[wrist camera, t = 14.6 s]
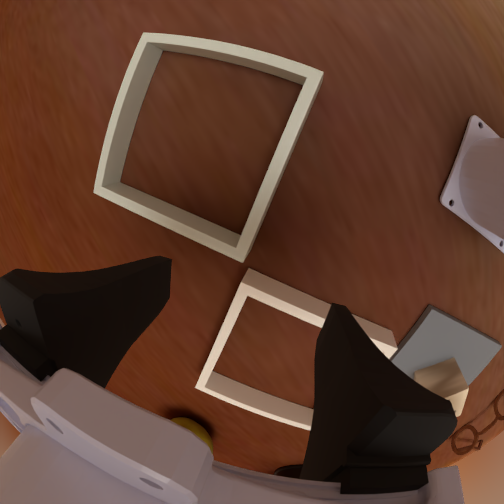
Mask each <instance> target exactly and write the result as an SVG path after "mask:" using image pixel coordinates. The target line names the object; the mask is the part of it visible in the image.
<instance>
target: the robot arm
mask: <svg viewBox="0 0 504 504" xmlns="http://www.w3.org/2000/svg"><path fill="white" fill-rule="evenodd" d="M478 123H479V124H480V128H479V126H478ZM450 200H452V204H451V205H449V201H450ZM440 202H441V204H442V205H443V206H445V207H446V208H448V209H449V210H450V211H452V212H453V213H455V214H456V215H457V216H459V217H460V218H461V219H463V220H464V221H465V222H467V223H468V224H469V225H470V226H472V227H473V228H474V229H476V230H477V231H478V232H479V233H480V234H482V235H483V236H484V237H485V238H487V239H488V240H489V241H490V242H491V243H492V244H494V245H495V246H496V247H497V248H498V249H499V250H500V251H501V252H503V253H504V138H500V137H499V136H498V135H497V134H496V133H495V132H494V131H493V130H492V129H491V128H490V127H489V126H488V125H487V124H485V123H484V122H483V121H482V120H481V119H480V118H479V117H478V116H476V115H473V116H471V117H470V119H469V122H468V125H467V128H466V132H465V135H464V138H463V141H462V143H461V146H460V149H459V152H458V155H457V157H456V160H455V162H454V165H453V168H452V170H451V173H450V175H449V177H448V180H447V182H446V184H445V187H444V189H443V191H442V194H441V196H440ZM500 242H501V244H500ZM171 263H172V259H169V258H166V257H162V256H155V257H150V258H146V259H142V260H138V261H134V262H130V263H126V264H122V265H118V266H113V267H109V268H104V269H99V270H92V271H85V272H69V273H49V272H36V271H29V270H22V269H15V270H12V271H11V272H9V273H7V274H5V275H4V276H2V277H0V305H1V308H2V311H3V314H4V317H5V320H6V323H7V325H6V326H4V327H3V328H2V326H1V324H0V411H1V412H2V413H3V414H4V416H5V417H6V418H7V419H8V420H9V421H10V422H11V423H12V425H13V426H14V427H15V428H16V429H17V430H18V431H19V432H20V433H21V434H20V435H19V436H18V437H17V438H16V440H15V441H14V442H13V443H12V444H11V446H10V447H9V448H8V449H7V450H6V452H5V453H4V454H3V455H2V457H1V458H0V504H464V498H463V492H462V486H461V480H460V475H459V470H458V466H451V467H445V468H438V469H434V470H432V471H429V472H427V467H426V465H428V464H430V462H431V458H430V453H431V452H433V451H434V450H435V449H436V448H437V447H439V446H440V445H441V444H442V443H443V442H444V441H445V440H446V439H447V438H448V437H449V436H450V435H451V434H452V432H453V431H454V429H455V427H456V425H457V418H456V415H455V412H454V409H453V406H452V403H451V401H449V400H447V399H445V398H443V397H441V396H439V395H437V394H435V393H433V392H431V391H430V390H428V389H427V388H425V387H423V386H422V385H420V384H419V383H417V382H416V381H414V380H413V379H412V378H410V377H409V376H408V375H407V374H405V373H404V372H403V371H402V370H400V369H399V368H398V367H397V366H396V365H395V364H393V363H392V362H391V361H390V360H389V359H388V358H387V357H386V356H385V355H384V354H383V353H382V352H381V351H380V350H379V348H378V347H377V346H376V345H375V344H374V343H373V341H372V340H371V339H370V338H369V336H368V335H367V334H366V333H365V331H364V330H363V329H362V327H361V326H360V325H359V323H358V322H357V321H356V319H355V318H354V316H353V315H352V314H351V312H350V311H349V310H348V309H347V307H346V306H343V305H339V304H335V303H332V304H331V307H330V309H329V312H328V314H327V317H326V319H325V322H324V324H323V327H322V329H321V331H320V334H319V336H318V339H317V344H316V351H315V398H314V411H313V418H312V424H311V430H310V436H309V441H308V446H307V450H306V454H305V459H304V463H303V467H302V470H301V474H300V477H299V479H295V478H288V477H282V476H276V475H271V474H265V473H261V472H256V471H251V470H247V469H243V468H239V467H235V466H231V465H228V464H224V463H221V462H217V461H214V460H213V459H214V457H213V455H212V453H211V450H210V448H209V446H208V445H207V443H205V442H204V441H203V440H202V439H200V438H199V437H198V436H197V435H195V434H194V433H193V432H192V431H190V430H188V429H186V428H184V427H182V426H180V425H178V424H176V423H174V422H172V421H170V420H168V419H166V418H164V417H161V416H159V415H157V414H154V413H152V412H150V411H148V410H145V409H143V408H141V407H139V406H137V405H135V404H133V403H131V402H129V401H127V400H125V399H123V398H121V397H119V396H117V395H115V394H113V393H112V392H110V391H108V390H106V389H105V387H106V385H107V383H108V381H109V379H110V378H111V376H112V374H113V373H114V371H115V369H116V368H117V366H118V364H119V363H120V361H121V360H122V358H123V357H124V355H125V354H126V352H127V351H128V349H129V348H130V347H131V345H132V344H133V343H134V342H135V341H136V340H137V338H138V337H139V336H140V335H141V334H142V333H143V332H144V331H145V329H146V328H147V327H148V326H149V325H150V324H151V323H152V321H153V320H154V319H155V318H156V317H157V316H158V315H159V313H160V312H161V310H162V309H163V307H164V306H165V304H166V303H167V301H168V299H169V298H170V280H171Z"/></svg>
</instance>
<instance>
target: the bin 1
mask: <svg viewBox="0 0 504 504" xmlns="http://www.w3.org/2000/svg"><path fill="white" fill-rule="evenodd" d="M163 51H171V52H178V53H185V54H191V55H196V56H202V57H207V58H211V59H216V60H221V61H225V62H229V63H233V64H237V65H241V66H245V67H248V68H252V69H255V70H259V71H262V72H265V73H269V74H272V75H275V76H278V77H281V78H284V79H287V80H290V81H292V82H295V83H298V84H301V85H303V88H302V90H301V92H300V95H299V97H298V99H297V102H296V104H295V106H294V109H293V111H292V113H291V116H290V118H289V120H288V123H287V125H286V127H285V130H284V132H283V135H282V137H281V139H280V142H279V144H278V146H277V149H276V151H275V154H274V156H273V158H272V161H271V163H270V166H269V168H268V171H267V173H266V175H265V178H264V180H263V183H262V185H261V188H260V190H259V192H258V195H257V197H256V200H255V202H254V205H253V207H252V210H251V212H250V215H249V217H248V219H247V222H246V224H245V227H244V229H243V232H242V234H241V235H239V234H237V233H234V232H232V231H230V230H228V229H225V228H223V227H221V226H219V225H216V224H214V223H212V222H210V221H207V220H205V219H203V218H201V217H198V216H196V215H194V214H192V213H189V212H187V211H185V210H183V209H180V208H178V207H176V206H174V205H171V204H169V203H167V202H164V201H162V200H160V199H158V198H155V197H153V196H151V195H148V194H146V193H144V192H141V191H139V190H137V189H135V188H132V187H130V186H128V185H125V184H123V183H121V182H120V180H121V175H122V171H123V167H124V163H125V159H126V155H127V151H128V148H129V144H130V140H131V137H132V134H133V130H134V127H135V124H136V120H137V117H138V114H139V111H140V108H141V105H142V102H143V100H144V97H145V94H146V91H147V89H148V86H149V83H150V81H151V78H152V76H153V73H154V71H155V68H156V66H157V64H158V61H159V59H160V57H161V54H162V52H163ZM323 75H324V72H323V71H320V70H317V69H315V68H312V67H310V66H307V65H304V64H301V63H298V62H295V61H292V60H289V59H286V58H283V57H280V56H277V55H273V54H270V53H267V52H263V51H259V50H255V49H252V48H248V47H243V46H239V45H235V44H230V43H225V42H220V41H215V40H209V39H203V38H196V37H189V36H181V35H171V34H159V33H143V35H142V37H141V39H140V41H139V43H138V45H137V48H136V50H135V52H134V54H133V57H132V59H131V62H130V64H129V67H128V69H127V72H126V74H125V77H124V80H123V82H122V85H121V88H120V91H119V94H118V96H117V99H116V102H115V106H114V109H113V112H112V115H111V119H110V122H109V126H108V129H107V133H106V137H105V140H104V144H103V149H102V153H101V157H100V162H99V166H98V171H97V176H96V181H95V187H94V193H95V194H97V195H99V196H101V197H103V198H105V199H107V200H110V201H112V202H114V203H116V204H118V205H120V206H122V207H124V208H126V209H128V210H130V211H132V212H135V213H137V214H139V215H141V216H143V217H145V218H147V219H149V220H151V221H153V222H156V223H158V224H160V225H162V226H164V227H166V228H168V229H170V230H173V231H175V232H177V233H179V234H181V235H183V236H185V237H187V238H190V239H192V240H194V241H196V242H198V243H200V244H202V245H205V246H207V247H209V248H211V249H213V250H215V251H218V252H220V253H222V254H224V255H226V256H228V257H231V258H233V259H235V260H237V261H239V262H242V263H243V262H244V260H245V259H246V257H247V255H248V254H249V252H250V251H251V248H252V246H253V244H254V241H255V239H256V236H257V234H258V232H259V229H260V227H261V225H262V222H263V220H264V218H265V215H266V213H267V211H268V208H269V206H270V204H271V201H272V199H273V196H274V194H275V192H276V189H277V187H278V185H279V182H280V180H281V178H282V175H283V173H284V171H285V168H286V166H287V164H288V161H289V159H290V157H291V154H292V152H293V150H294V147H295V145H296V143H297V140H298V138H299V135H300V133H301V131H302V128H303V126H304V124H305V121H306V119H307V117H308V114H309V112H310V110H311V107H312V105H313V103H314V100H315V98H316V96H317V93H318V91H319V89H320V86H321V84H322V81H323Z"/></svg>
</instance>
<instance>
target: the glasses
mask: <svg viewBox="0 0 504 504" xmlns="http://www.w3.org/2000/svg"><path fill="white" fill-rule="evenodd" d="M503 394H504V389H503V390H502V391H501V392H500V393H499V395H498V396H497V398H496V399H495V402H494V411H495V415H496V418H495V420H494V421H493V422H492V423H491V424H490V425H488V426H487V427H486V428H485V429H484V430H482V431H481V432H479V433H478V432H477V430H476V429H475V428H474V427H473V426H471V425H466V426H463V427H461V428H460V429H459V430H457V431H456V433H455V434H454V435H453V438H452V441H451V446H452V449H453V451H454V453H456V454H457V455H463V454H466V453H468V452H470V451H471V450H472V449H473V450H480V448H481V445H482V442H483V440H481V441H480V443H479V445H478V447H475V445H476V443H477V441H478V438H479V435H482V434H484V433H485V432H487V431H488V430H489V429H490V428H491V427H492V426H494V425H495V423H496V422H497V420H504V416H501V415H500V414H499V412H498V407H497V405H498V401H499V399H500V397H501V396H502V395H503ZM464 429H470V430H471V431H472V432H473V434H474V442H473V444H472V445H470V446H466V447H463V448H458V449H457V448H456V445H455V440H456V437H457V435H458V434H459V433H460V432H461V431H462V430H464Z"/></svg>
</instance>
